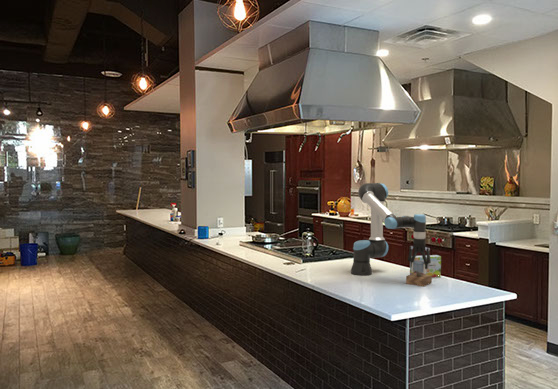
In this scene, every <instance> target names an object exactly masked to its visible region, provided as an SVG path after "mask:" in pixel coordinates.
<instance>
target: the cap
mask: <svg viewBox="0 0 558 389" xmlns="http://www.w3.org/2000/svg"><path fill="white" fill-rule="evenodd" d="M424 264H425V263H424V261H421V260H414V263H413V270H414V271H418V272H423V268H424Z"/></svg>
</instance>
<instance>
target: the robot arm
mask: <svg viewBox="0 0 558 389" xmlns="http://www.w3.org/2000/svg"><path fill="white" fill-rule="evenodd" d="M357 193H358V194H357V195H358V197H359V199H360V200H361V201H362V202H363V203H364V204H367V205H368V206H369V207H370V237H369V238H368V239H362V240H361V239H360V240H357V241H355V242H354V243H353V247H352V250H353V258H352V259H353V262H352V266H351V269H350V273H351V274H352V275H354V276H355V275H356V276H369V275H372V274H373V269H372V268H373V267H372V266H371V259H374V258H383V257H385V256H386V255H387V254H388V251H389V244H388V242H387V241H386V239H385V237H384V231H383V230H384V226H385V228H386V229H388V230H389V229H391V230H396V229H406V228H409V229H413V238H412V239H413V242H412V244H413V245H409V246H408V249H409V250H408V256H407V261H408V262H409V263H410V262H411V267H412V273H413V272H415V271H414V270H413V263H414V259H415V257H416V256H417V255H418V253H419V254H420V255H421V256H422V257H423V260H424V263H425V264H424V268H423V274H426V269H428V264H429V263H431V260H430V255H431V252H430V251H431V248H430V247H427V246H426V235H427V234H426V229H427V228H426V227H427V218H426V214H424V213H423V214H420V213H419V214H418V213H416V214H414V215H413V216H410V215H402V216H396V215H395V214H394V213H393V212H392V211H391V210H390V209H389V208H388V207H387V206H386V205H385V204H384V203H385V202H386V199H387V198H388V196H389V189H388V187H387V186H386V184H385V183H379V182H373V183H371V182H370V183H369V182H365V183H362V185H360V187H359V188H358V192H357ZM383 221H384V222H383ZM383 223H384V224H383ZM426 255H427V258H426Z"/></svg>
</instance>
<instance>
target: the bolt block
mask: <svg viewBox="0 0 558 389" xmlns="http://www.w3.org/2000/svg"><path fill="white" fill-rule="evenodd" d="M432 279H433V278H432V276H430V275H423V274H422V272H418V271H416V273H414V274H411V275H410V274H408V275H406V277H405V282H406V283H405V285H411V286H418V287H427V286H428V285H431V284H432Z"/></svg>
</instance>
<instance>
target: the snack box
mask: <svg viewBox="0 0 558 389" xmlns="http://www.w3.org/2000/svg"><path fill="white" fill-rule="evenodd" d="M425 255H426V254H425ZM426 258H427V255H426ZM414 260H421V261H424V260H423V257H422V255H416V257H415V259H414ZM430 260H431V263H429V264H428V269H426V274H423V272H422V274H423V275H430V276H432V279H435V277H436V278H441V276H442V275H441V272H442V271H441V270H442V268H441V267H442V256H441V255H438V254H432V255H431V254H430ZM414 273H416V271H415V272H413V273H412V267H411V262H410V261H409V275H411V274H414ZM438 275H439V276H438Z"/></svg>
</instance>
